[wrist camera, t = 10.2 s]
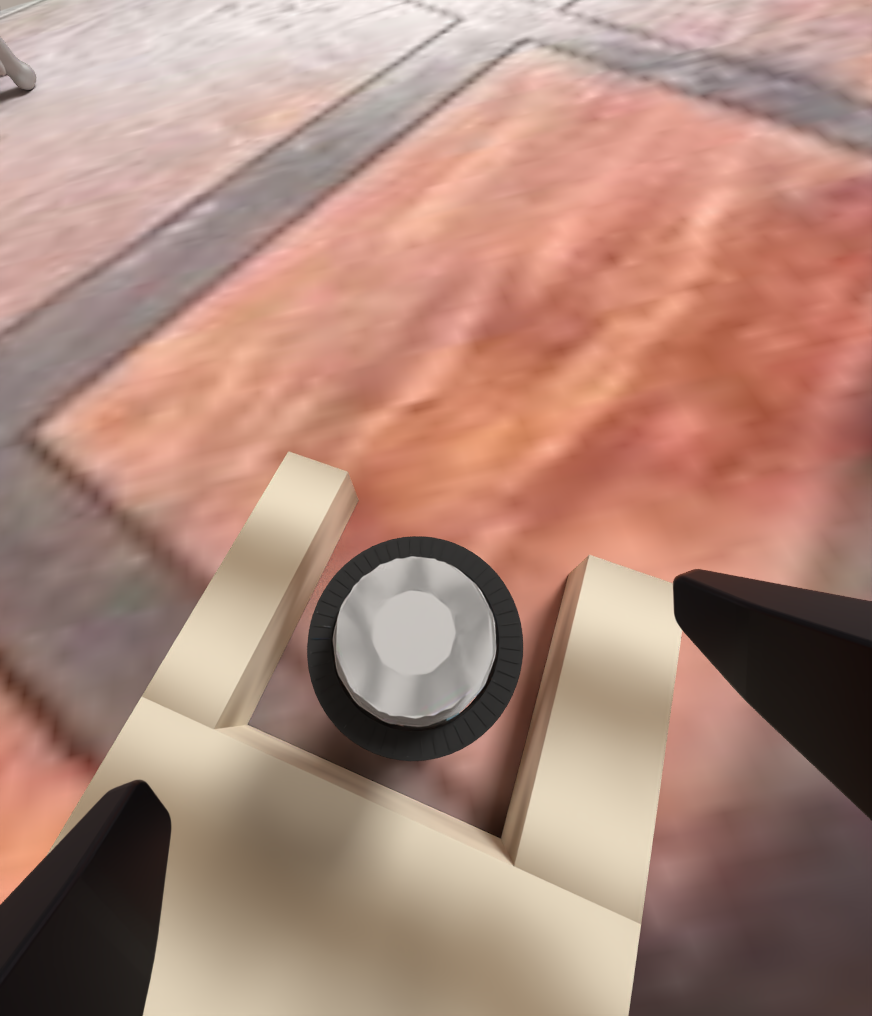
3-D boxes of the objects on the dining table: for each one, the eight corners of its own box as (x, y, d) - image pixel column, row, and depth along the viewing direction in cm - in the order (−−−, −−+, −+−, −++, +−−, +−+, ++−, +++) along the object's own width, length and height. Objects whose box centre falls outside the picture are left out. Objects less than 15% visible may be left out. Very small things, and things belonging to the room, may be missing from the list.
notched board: (558, 1158, 13) (591, 1278, 10) (74, 894, 16) (-1, 935, 13) (653, 603, 20) (687, 588, 17) (306, 481, 23) (288, 451, 20)
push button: (347, 592, 20) (275, 504, 11) (456, 564, 21) (473, 457, 12) (376, 749, 18) (314, 803, 8) (500, 711, 18) (567, 723, 9)
